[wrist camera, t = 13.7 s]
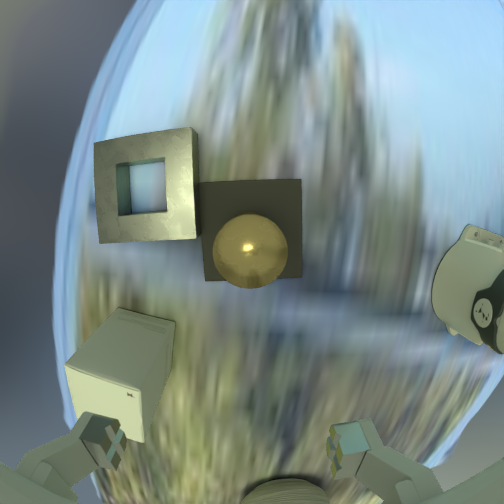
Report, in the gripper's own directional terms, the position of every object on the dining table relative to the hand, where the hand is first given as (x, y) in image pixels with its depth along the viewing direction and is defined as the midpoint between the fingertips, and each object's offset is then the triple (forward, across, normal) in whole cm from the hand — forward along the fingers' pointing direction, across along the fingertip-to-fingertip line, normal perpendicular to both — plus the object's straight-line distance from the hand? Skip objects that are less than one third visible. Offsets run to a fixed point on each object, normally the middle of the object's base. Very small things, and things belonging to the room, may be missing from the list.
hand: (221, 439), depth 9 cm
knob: (+26, -1, -4) cm, 27 cm away
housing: (+27, +11, -9) cm, 30 cm away
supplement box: (+27, +14, +12) cm, 33 cm away
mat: (+27, -1, -4) cm, 27 cm away
